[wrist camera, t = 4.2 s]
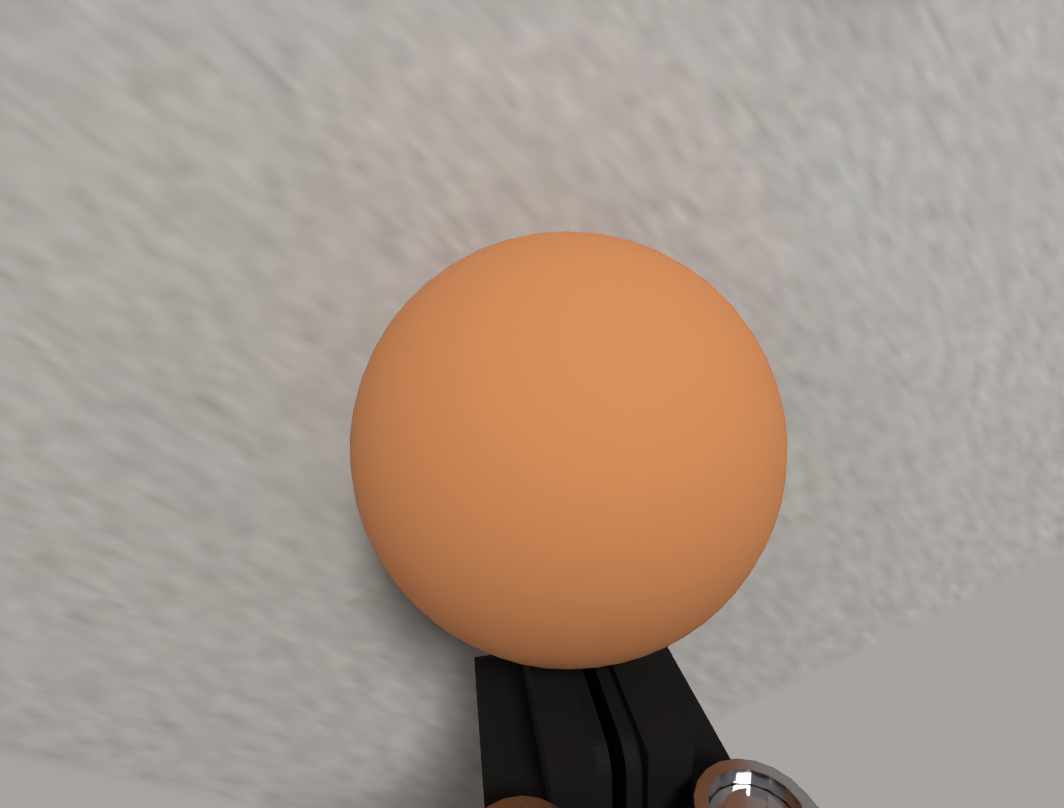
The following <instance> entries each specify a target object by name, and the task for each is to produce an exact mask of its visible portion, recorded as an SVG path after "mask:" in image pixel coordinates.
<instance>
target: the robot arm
mask: <svg viewBox="0 0 1064 808" xmlns="http://www.w3.org/2000/svg"><path fill="white" fill-rule="evenodd" d="M474 659H475V674H476V689H477V703H478V718H479V732H480V747H481V761H482V776H483V790H484V805H485V808H818V806H817V805H816V804H815V803H814V802H813V801H812V799H810V797H809V796H808V795H807V793H805V791H803V790H802V789H801V788H800V787H799V786H798V785H797V784H796V783H795V782H794V781H793V780H792V779H791V778H789V777H788V776H786V775H785V774H783V773H781V772H780V771H778V770H776V769H775V768H773V767H771V766H767V765H765V764H762V763H759V762H756V761H752V760H744V759H730V758H729V756H728V754H727V752H726V750H725V749H724V747H723V745H722V743H721V741H720V740H719V738H718V736H717V734H716V732H715V731H714V729H713V727H712V725H711V724H710V722H709V720H708V718H707V716H706V715H705V713H704V711H703V709H702V708H701V706H700V704H699V702H698V700H697V699H696V697H695V695H694V693H693V692H692V690H691V688H690V686H689V684H688V683H687V681H686V679H685V677H684V676H683V674H682V672H681V670H680V668H679V667H678V665H677V663H676V661H675V660H674V658H673V656H672V654H671V652H670V651H669V649H668V647H665V648H663V649H661V650H658V651H656V652H653V653H651V654H649V655H646V656H644V657H641V658H637V659H634V660H630V661H627V662H624V663H620V664H614V665H608V666H603V667H596V668H584V669H549V668H540V667H534V666H529V665H523V664H519V663H515V662H512V661H509V660H506V659H502V658H499V657H496V656H494V655H488V656H481V657H474Z"/></svg>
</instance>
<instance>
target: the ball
mask: <svg viewBox="0 0 1064 808" xmlns="http://www.w3.org/2000/svg"><path fill="white" fill-rule="evenodd" d="M786 459H787V436H786V424H785V417H784V412H783V408H782V403H781V399H780V395H779V391H778V388H777V385H776V382H775V379H774V377H773V374H772V371H771V368H770V366H769V363H768V360H767V358H766V356H765V354H764V353H763V351H762V349H761V347H760V345H759V343H758V342H757V340H756V338H755V336H754V335H753V333H752V332H751V331H750V329H749V328H748V327H747V325H746V324H745V323H744V321H743V320H742V319H741V317H740V316H739V315H738V313H737V312H736V311H735V309H734V308H733V307H732V305H731V304H730V303H729V302H728V301H727V300H726V299H725V298H724V297H723V296H722V295H721V294H720V293H719V292H718V291H717V290H716V289H715V288H714V287H713V286H712V285H710V284H709V283H708V282H706V281H705V280H704V279H702V278H701V277H700V276H698V275H697V274H696V273H694V272H693V271H692V270H690V269H689V268H687V267H686V266H684V265H682V264H681V263H679V262H677V261H675V260H673V259H672V258H670V257H668V256H666V255H664V254H662V253H660V252H659V251H657V250H654V249H652V248H649V247H646V246H643V245H641V244H638V243H635V242H633V241H630V240H625V239H621V238H616V237H611V236H606V235H602V234H594V233H579V232H552V233H539V234H532V235H527V236H523V237H518V238H514V239H509V240H505V241H503V242H500V243H497V244H494V245H492V246H489V247H486V248H483V249H481V250H478V251H476V252H475V253H473V254H471V255H469V256H467V257H465V258H463V259H461V260H459V261H458V262H456V263H454V264H452V265H451V266H449V267H448V268H447V269H445V270H444V271H442V272H441V273H440V274H438V275H437V276H435V277H434V278H433V279H431V280H430V281H428V282H427V283H426V284H425V285H424V286H423V287H422V288H421V289H420V290H419V291H418V292H417V293H416V294H415V295H414V296H413V297H412V298H411V299H409V300H408V301H407V302H406V304H405V305H404V306H403V307H402V309H401V310H400V311H399V312H398V314H397V315H396V316H395V317H394V319H393V320H392V321H391V322H390V324H389V325H388V327H387V328H386V330H385V332H384V333H383V335H382V337H381V339H380V340H379V342H378V344H377V345H376V347H375V349H374V351H373V353H372V355H371V358H370V360H369V362H368V365H367V367H366V370H365V372H364V374H363V377H362V380H361V383H360V387H359V391H358V394H357V398H356V402H355V406H354V410H353V417H352V425H351V434H350V461H351V473H352V480H353V486H354V492H355V497H356V503H357V507H358V510H359V513H360V516H361V519H362V522H363V525H364V528H365V531H366V533H367V535H368V537H369V539H370V541H371V543H372V545H373V547H374V549H375V551H376V553H377V555H378V557H379V559H380V561H381V563H382V565H383V566H384V568H385V569H386V571H387V572H388V573H389V575H390V576H391V578H392V579H393V581H394V582H395V584H396V585H397V586H398V588H399V589H400V590H401V591H402V592H403V593H404V594H405V595H406V596H407V597H408V598H409V600H410V601H411V602H412V603H413V604H414V605H415V606H416V607H417V608H418V609H419V610H420V611H422V612H423V613H424V614H425V615H426V616H427V617H429V618H430V619H431V620H432V621H433V622H435V623H436V624H437V625H438V626H440V627H441V628H442V629H443V630H445V631H446V632H448V633H449V634H451V635H453V636H454V637H456V638H458V639H459V640H461V641H463V642H464V643H466V644H468V645H470V646H473V647H475V648H477V649H479V650H482V651H484V652H486V653H488V654H491V655H494V656H496V657H499V658H502V659H506V660H509V661H512V662H515V663H519V664H523V665H529V666H534V667H540V668H549V669H584V668H596V667H603V666H608V665H614V664H620V663H624V662H627V661H630V660H634V659H637V658H641V657H644V656H646V655H649V654H651V653H653V652H656V651H658V650H661V649H663V648H665V647H667V646H669V645H671V644H672V643H674V642H676V641H678V640H680V639H682V638H684V637H685V636H686V635H688V634H689V633H691V632H692V631H694V630H695V629H697V628H698V627H699V626H701V625H702V624H704V623H705V622H706V621H707V620H708V619H709V618H711V617H712V616H713V615H714V614H715V613H716V612H718V611H719V610H720V609H721V608H722V607H723V606H724V604H725V603H726V602H727V601H728V600H729V599H730V598H731V597H732V596H733V595H734V594H735V593H736V591H737V590H738V589H739V587H740V586H741V585H742V583H743V582H744V581H745V579H746V578H747V577H748V575H749V574H750V572H751V571H752V569H753V567H754V566H755V564H756V562H757V560H758V559H759V557H760V555H761V554H762V552H763V550H764V548H765V546H766V544H767V542H768V539H769V537H770V535H771V533H772V530H773V528H774V525H775V522H776V519H777V516H778V512H779V509H780V506H781V502H782V496H783V490H784V485H785V477H786Z"/></svg>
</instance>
